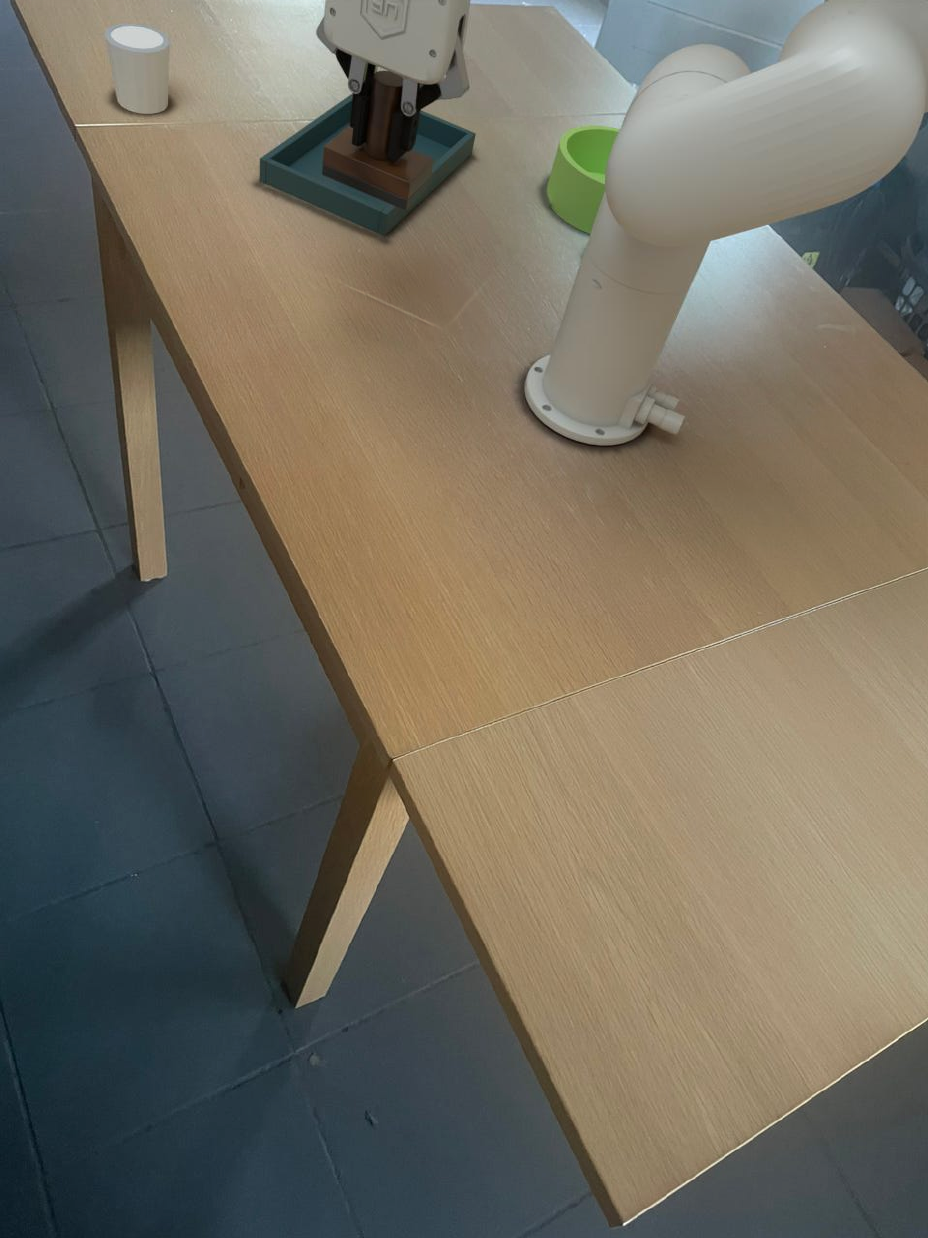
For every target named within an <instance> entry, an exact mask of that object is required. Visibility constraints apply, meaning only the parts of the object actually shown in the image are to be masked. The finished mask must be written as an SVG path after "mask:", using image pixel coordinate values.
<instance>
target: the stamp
mask: <svg viewBox="0 0 928 1238" xmlns="http://www.w3.org/2000/svg"><path fill="white" fill-rule="evenodd" d="M402 89H403V77H402V76H400V75H397V74H395V73H393V72H390V71H388V70H379V71H378V70H377V72H376V73H375V74H374V76H373V84H372V92H371V100H370V109H369V117H368V125H367V134H366V142H365V143H364V144H363V145H362V146H359V147H357V146H355V145H353V144H352V135H353V128H352V127H350V125H349V126H348V127H347V128H346V129H345V130H343V131H342V132H341V133H340V134H338V135H337V136H336V137H335V138H334V139H332V140H331V141H330V142H329V143H327V144H326V145H325V146H324V153H323V166H322V175H324V176H326V177H328V178H331V179H333V180H335V181H338V182H340V183H342V184H345V185H347V186H349V187H352V188H354V189H356V190H359V191H361V192H363V193H366V194H368V195H370V196H373V197H375V198H377V199H380V200H382V201H384V202H387V203H389V204H391V205H393V206H396V207H398V208H400V209H403V210H407V209H408V208H409V207H410V206H411V205H412V204H413V203H414V202H415V201H416V200H417V198H418V197H419V196H420V195H421V194H422V193H423V192H424V191H425V190H426V189H427V188H428V187H429V184H430V179H431V174H432V168H433V163H434V159H432V158H429V157H427V156H425V155H422V154H420V153H418V152H415V151H413V150H411V151H409V152H408V151H407V152H406V153H405V154H404V155H403V156H402V157H401V158H400V159H399V160H398V161H396V162H393V161H390V160H389V158H388V157H387V155H388V148H389V141H390V134H391V127H392V119H393V114H394V112H395V111H396V110H397V109H399V108H400V102H401V100H402Z"/></svg>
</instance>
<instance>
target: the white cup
mask: <svg viewBox="0 0 928 1238" xmlns="http://www.w3.org/2000/svg"><path fill="white" fill-rule="evenodd" d="M104 38H105V44H106V49H107V53H108V54H107V55H108V60H109V64H110V70H111V76H112V81H113V85H114V90H115V96H116V100H117V103H118V104H119V105H120V106H121V108H123V109H125V110H127V111H129V112H132V113H136V114H141V115H152V114H159V113H161V112H163V111H165V110H166V109H167V108H168V106H169V85H170V84H169V83H170V77H169V76H170V47H171V46H170V44H171V43H170V37H169V36H168V35H167V34H166V33H165V32H163V31H162V30H159V29H158V28H156V27H154V26H149V25H146V24H141V23H131V22H128V23H117V24H115V25H112V26H109V27H108V28H107V29H106V30H105V31H104Z"/></svg>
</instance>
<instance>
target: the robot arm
mask: <svg viewBox="0 0 928 1238" xmlns="http://www.w3.org/2000/svg"><path fill="white" fill-rule="evenodd" d="M470 8H471V0H325V3H324V13H323V17H322V19H321V21H320V22H319V24H318V26H317V27H316V30H315V35H316V37H317V38H318V40H319V41H320V42H321V43H322V44H323V45H324V46H325V47H326V48H327V49H328V50H329V52H330V53H331V54H334V55H335V58H336V60H337V62H338V64H339V66H340V68H341V70H342V71H343V73H344V75H345V77H346V78H347V88H348V90H349V92H351V94H352V93H353V98H352V107H351V116H350V127H352V128H353V135H352V144H353V145H355V146H357V147H359V146H362V145H363V144H364V143H365V142H366V134H367V125H368V117H369V109H370V100H371V92H372V84H373V76H374V74H375V73H376V72H378V69H379V68H381V69H383V70H384V71H390V72H393V73H395V74H397V75H400V76H402V77H403V89H402V100H401V102H400V108H399V109H397V110H396V111H395V112H394V114H393V119H392V127H391V134H390V141H389V148H388V155H387V157H388V158H389V160H390V161H393V162H396V161H398V160H399V159H400V158H401V157H402V156H403V155H404V154H405V153H406V152H407V151H408V152H409V151H411V150H412V149H413V147H414V145H415V141H416V136H417V130H418V123H419V117H420V111H421V110H423V109H424V108H426V107H428V106H429V105H431V104H433V103H434V102H436V101H439V100H440V101H441V100H442V101H444V100H453V99H458V98H462V97H463V96H464V95H465V94H466V93H467V92H468V91H469V89H470V80H469V76H468V69H467V64H466V60H465V56H464V47H465V42H466V36H467V30H468V22H469V16H470ZM926 113H928V0H826V1H824V2H822V3H820V4H818V5H817V6H815V7H814V8H813V9H811V10H810V11H809V12H807V13H806V14H804V15H803V16H802V17H801V18H800V19H799V20H798V22H797V23H796V25H794V27H793V28H792V29H791V31H790V33H789V34H788V36H787V38H786V39H785V41H784V44H783V45H782V47H781V50H780V53H779V55H778V59H777V62H775V63H774V64H771V65H768V66H766V67H763V68H762V69H758V70H756V71H754V72H751V70H750V69H749V67H748V65H747V64H746V63H745V61H743V59H742V58H740V56H738V55H737V54H736V53H734V52H733V51H731V50H729V49H727V48H725V47H722V46H719V45H715V44H709V43H701V44H699V43H698V44H693V45H689V46H688V45H687V46H685V47H682V48H680V49H678V50H675V51H673V52H671V53H670V54H668V55H667V56H665V57H664V58H663V59H662V60H660V61H659V62H658V63H657V64H656V65H655V66H654V67H653V68H652V69H651V70H650V71H649V73H648V74H647V75H646V77H645V78H643V80H642V82H641V84H640V85H639V87H638V89H637V91H636V93H635V94H634V96H633V99H632V101H631V102H630V104H629V107H628V108H627V111H626V114H625V116H624V118H623V121H622V124H621V126H620V128H619V129H620V130H619V132H618V134H617V136H616V138H615V141H614V143H613V146H612V148H611V151H610V154H609V158H608V161H607V166H606V173H605V191H604V194H603V197H602V200H601V203H600V206H599V209H598V212H597V215H596V218H595V221H594V224H593V228H592V231H591V234H589V237H588V240H587V242H586V245H585V248H584V251H583V255H582V257H581V259H580V260H581V261H580V263H579V266H578V270H577V273H576V275H575V279H574V282H573V285H572V288H571V291H570V294H569V297H568V301H567V303H566V307H565V310H564V313H563V315H562V319H561V322H560V325H559V328H558V331H557V334H556V337H555V340H554V344H553V346H552V350H551V353H550V354H547V355H545V356H543V357H541V358H539V359H538V360H537V361H535V362H534V363H533V364H532V365H531V367H530V369H529V370H528V372H527V375H526V378H525V381H524V389H523V390H524V397H525V399H526V402H527V404H528V406H529V408H530V409H531V411H532V412H533V413H534V415H535V416H536V417H537V418H538V419H539V420H540V421H541V422H542V423H543V424H544V425H546V426H547V427H549V428H550V429H551V430H553V432H556V433H557V434H560V435H561V436H564V437H565V438H568V439H570V440H573V441H576V442H579V443H583V444H587V445H592V446H593V445H594V446H616V445H621V444H625V443H628V442H631V441H632V440H635V438H637V437H638V436H640V435H641V434H642V433H643V432H644V430H645V429H646V427H647V425H648V423H649V424H652V425H654V426H656V427H658V428H659V429H660V430H663V431H665V432H668V433H669V434H672V435H674V436H677V435H678V433H679V431H680V429H681V427H682V424H683V423H684V419H685V418H686V416H685V415H683V414H681V413H678V412H676V411H675V409H676V407H677V405H678V403H679V401H680V399H679V398H677V397H674V396H672V395H670V394H666V393H664V392H662V391H659V390H658V386H655V385H653V384H654V382H655V379H656V378H657V374H658V370H656V369H655V368H656V366H657V363H658V361H659V359H660V357H661V354H662V352H663V350H664V347H665V346H666V343H667V340H668V338H669V336H670V334H671V332H672V329H673V327H674V325H675V323H676V320H677V318H678V316H679V313H680V311H681V309H682V307H683V305H684V302H685V300H686V297H687V295H688V293H689V291H690V289H691V287H692V284H693V282H694V281H695V278H696V276H697V274H698V271H699V270H700V267H701V264H702V263H703V260H704V258H705V256H706V253H707V251H708V248H709V246H710V244H711V242H713V241H717V240H721V239H723V238H727V237H730V236H734V235H738V234H740V233H744V232H748V231H752V230H754V229H755V230H756V229H758V228H761V227H765V226H769V225H772V224H776V223H778V222H783V221H785V220H788V219H789V220H790V219H793V218H795V217H799V216H802V215H805V214H809V213H812V212H815V211H818V210H821V209H825V208H828V207H831V206H834V205H837V204H839V203H841V202H845V201H846V200H848V199H849V200H850V199H851V198H853V197H856V196H857V195H860V193H862V192H864V191H866V190H867V189H869V188H870V187H872V186H874V185H875V184H877V183H878V182H879V181H881V180H882V179H883V178H885V177H886V176H887V175H888V174H889V173H891V171H892V170H893V169H895V167H896V166H897V165H898V164H899V163H900V162H901V161H902V160H903V158H904V157H905V156H906V154H907V153H908V151H909V150H910V149H911V146H912V145H913V144H914V141H915V139H916V138H917V135H918V132H919V130H920V127H921V125H922V121H923V118H924V115H925V114H926Z"/></svg>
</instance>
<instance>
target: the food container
mask: <svg viewBox="0 0 928 1238" xmlns="http://www.w3.org/2000/svg"><path fill="white" fill-rule="evenodd" d="M619 130H620V128H616V127H612V126H606V125H590V124H589V125H581V126H577V127H573V128H570V129H569V130H566V131H565V133H563V134H562V135H561V137H560V140H559V143H558V146H557V150H556V154H555V156H554V160H553V164H552V168H551V171H550V175H549V179H548V183H547V186H546V194H547V197H548V200H549V202H550V204H549V206H550V208H551V210H552V211H553V212H554V213H555V214H556V215H557V216H558V217H559V218H561V220H563V221H564V222H565V223H567V224H569V225H571V226H572V227H574V228H575V229H577V230H580V231H582V232H584V233H586V234H589V235H590V234H591V231H592V228H593V224H594V221H595V218H596V215H597V212H598V209H599V206H600V203H601V200H602V197H603V194H604V191H605V173H606V166H607V161H608V158H609V154H610V151H611V148H612V146H613V143H614V141H615V138H616V136H617V134H618V132H619Z"/></svg>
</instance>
